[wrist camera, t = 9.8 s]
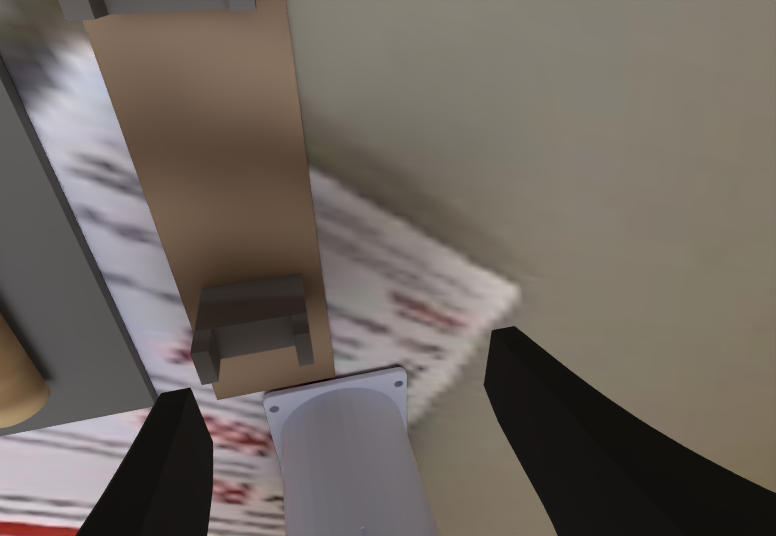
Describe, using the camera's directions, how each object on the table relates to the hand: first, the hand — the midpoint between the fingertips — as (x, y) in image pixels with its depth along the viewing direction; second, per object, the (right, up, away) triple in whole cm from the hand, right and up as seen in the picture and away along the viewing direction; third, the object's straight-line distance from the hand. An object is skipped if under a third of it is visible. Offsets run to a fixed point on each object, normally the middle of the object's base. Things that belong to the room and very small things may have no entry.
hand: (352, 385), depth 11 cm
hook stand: (-5, +7, +7) cm, 11 cm away
